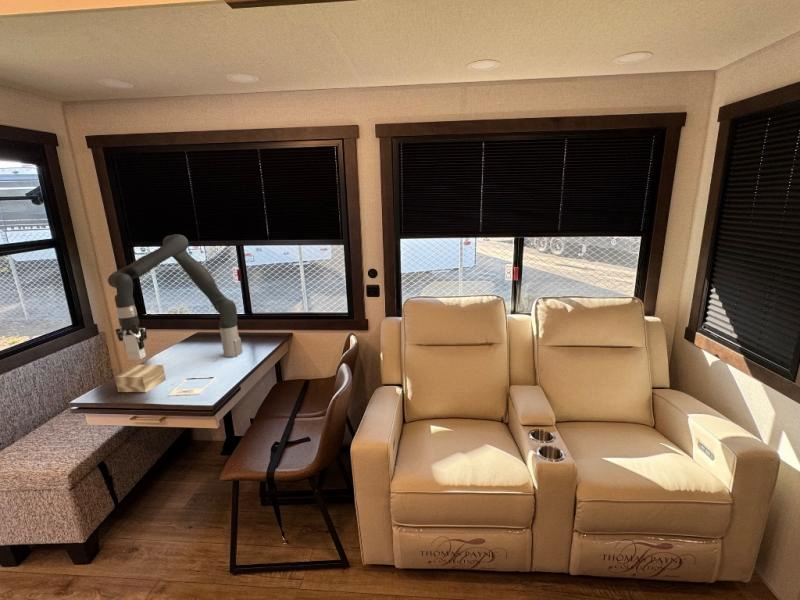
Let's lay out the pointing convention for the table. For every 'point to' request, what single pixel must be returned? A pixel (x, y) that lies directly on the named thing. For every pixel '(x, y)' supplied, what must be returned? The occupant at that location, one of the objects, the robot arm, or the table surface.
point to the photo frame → (189, 391)
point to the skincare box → (133, 347)
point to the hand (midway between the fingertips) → (135, 348)
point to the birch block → (140, 378)
